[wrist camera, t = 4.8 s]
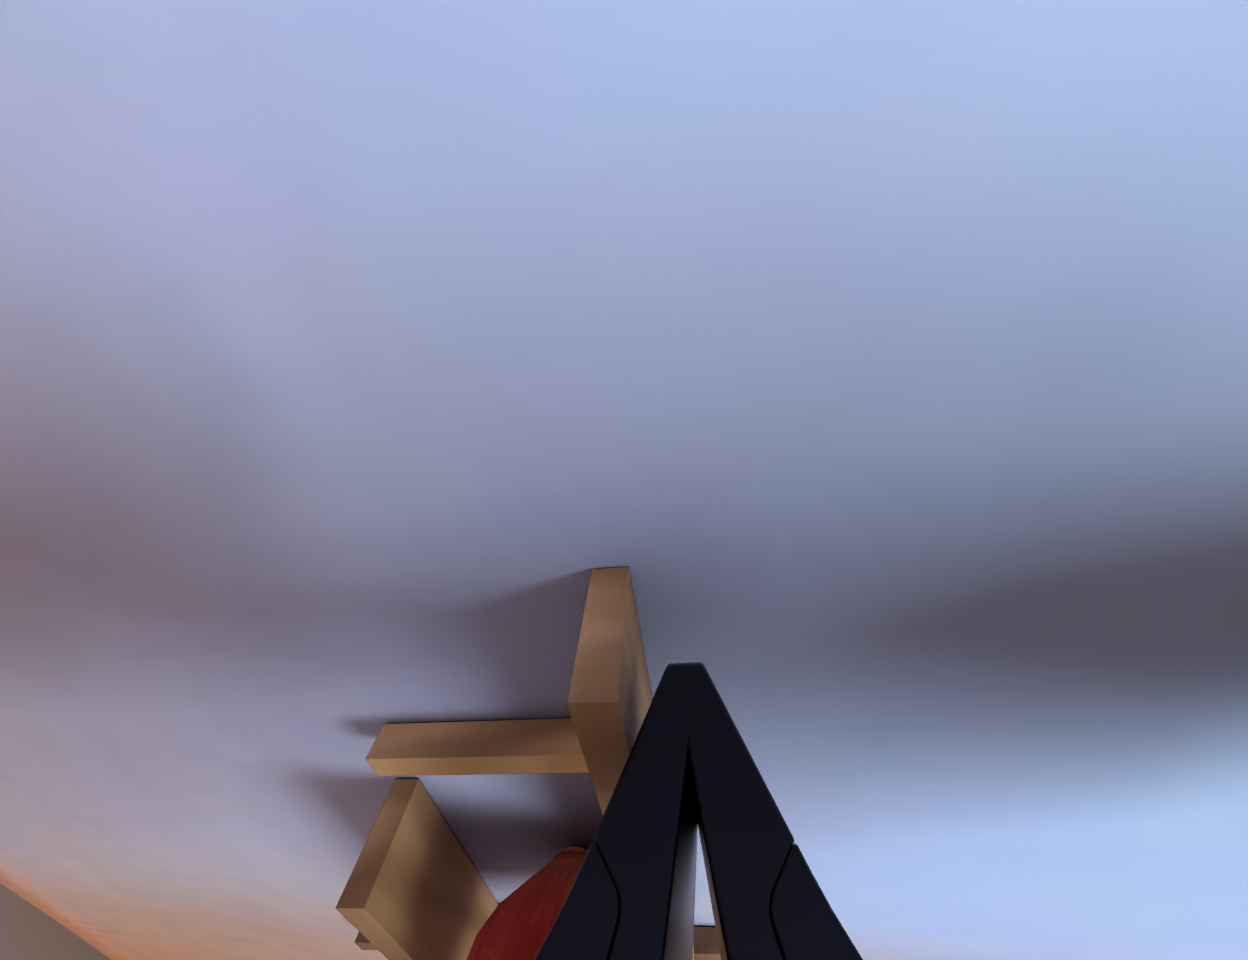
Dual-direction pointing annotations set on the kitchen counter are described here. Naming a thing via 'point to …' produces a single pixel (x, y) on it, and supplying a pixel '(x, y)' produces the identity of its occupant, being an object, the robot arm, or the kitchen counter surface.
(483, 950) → the onion
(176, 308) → the kitchen counter surface
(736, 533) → the kitchen counter surface
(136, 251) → the kitchen counter surface
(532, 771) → the frame
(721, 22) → the kitchen counter surface
